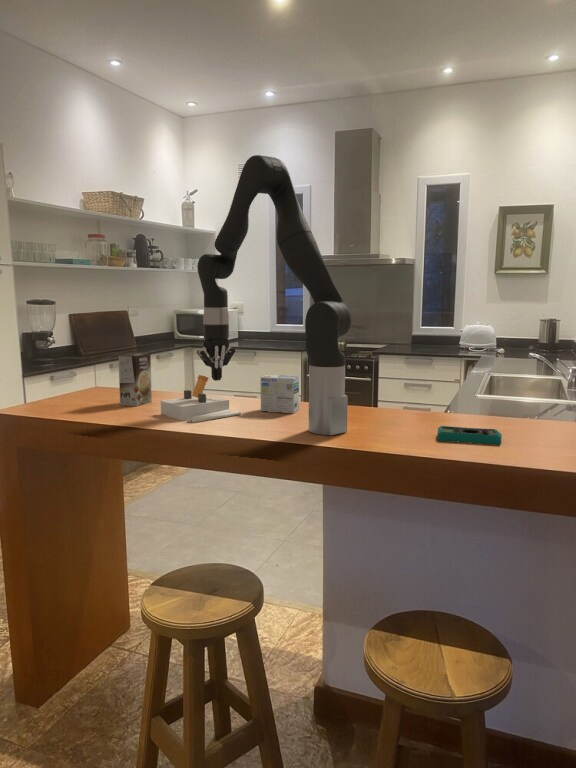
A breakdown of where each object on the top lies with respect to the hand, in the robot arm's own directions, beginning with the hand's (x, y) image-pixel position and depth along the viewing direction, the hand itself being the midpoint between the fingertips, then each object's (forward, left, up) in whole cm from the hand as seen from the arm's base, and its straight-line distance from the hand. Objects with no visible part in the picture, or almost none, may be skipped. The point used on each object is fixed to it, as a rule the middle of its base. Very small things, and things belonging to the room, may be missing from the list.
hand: (216, 380), depth 172 cm
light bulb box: (-13, -14, -10) cm, 21 cm away
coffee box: (+26, +14, -10) cm, 31 cm away
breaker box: (0, +8, -9) cm, 12 cm away
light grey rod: (-10, +7, -9) cm, 15 cm away
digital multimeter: (-70, -27, -10) cm, 75 cm away
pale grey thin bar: (-8, +8, -9) cm, 14 cm away
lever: (0, +8, -5) cm, 10 cm away
